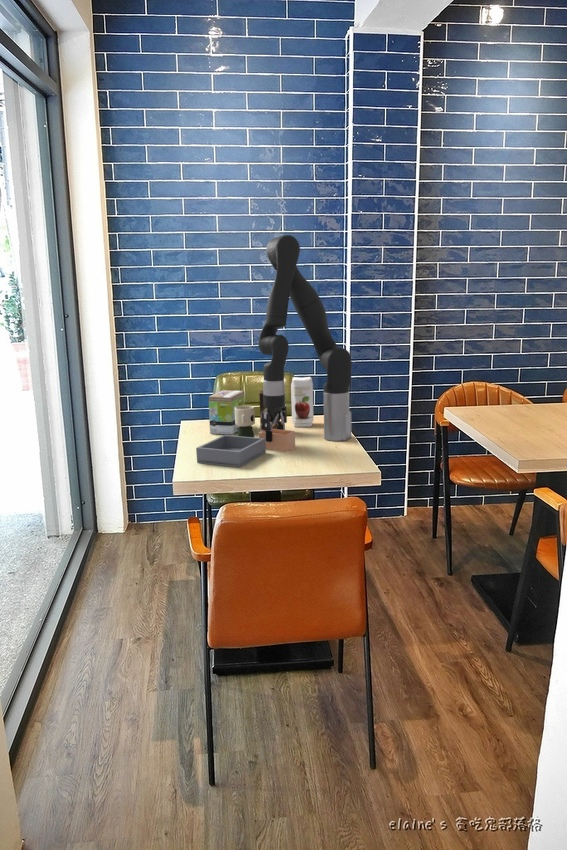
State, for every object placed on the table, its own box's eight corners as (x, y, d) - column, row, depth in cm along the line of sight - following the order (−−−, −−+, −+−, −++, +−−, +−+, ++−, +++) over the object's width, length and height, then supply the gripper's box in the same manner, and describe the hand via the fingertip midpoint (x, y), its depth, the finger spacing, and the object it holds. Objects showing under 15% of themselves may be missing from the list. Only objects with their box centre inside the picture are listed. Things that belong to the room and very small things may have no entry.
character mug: (254, 446, 231) (253, 410, 228) (234, 446, 231) (232, 410, 228) (256, 438, 241) (255, 404, 238) (237, 439, 242) (235, 404, 239)
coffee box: (259, 435, 246) (258, 393, 243) (262, 431, 252) (260, 390, 249) (284, 434, 245) (282, 392, 242) (285, 430, 252) (284, 389, 248)
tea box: (234, 435, 248) (232, 396, 244) (209, 434, 250) (207, 396, 247) (246, 426, 262) (244, 389, 258) (223, 425, 264) (221, 389, 261)
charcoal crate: (265, 452, 222) (265, 438, 221) (240, 467, 206) (239, 452, 205) (224, 448, 229) (224, 434, 227) (197, 462, 213) (196, 447, 212)
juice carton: (292, 423, 264) (291, 376, 259) (314, 422, 263) (312, 376, 259) (291, 427, 256) (290, 379, 252) (313, 427, 256) (312, 379, 251)
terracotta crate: (295, 447, 228) (294, 430, 227) (288, 451, 223) (287, 434, 221) (267, 444, 233) (266, 428, 231) (259, 449, 227) (258, 432, 226)
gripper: (274, 397, 216) (275, 444, 219) (293, 390, 228) (293, 435, 232) (254, 395, 219) (255, 442, 223) (273, 389, 231) (274, 433, 235)
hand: (274, 438), depth 227 cm, fingers open, 8 cm apart
